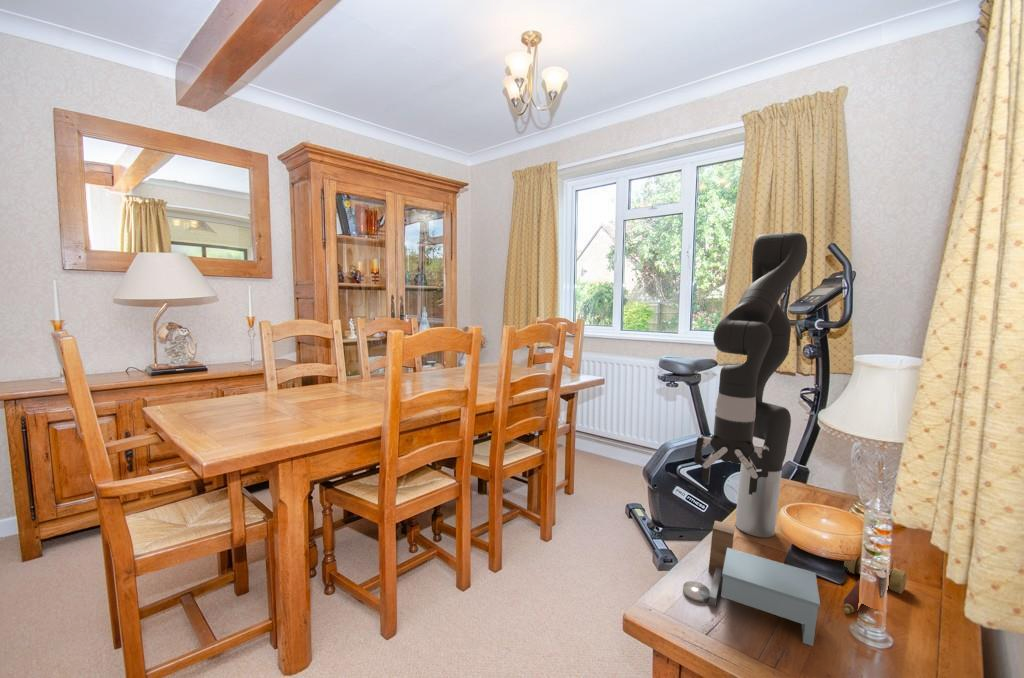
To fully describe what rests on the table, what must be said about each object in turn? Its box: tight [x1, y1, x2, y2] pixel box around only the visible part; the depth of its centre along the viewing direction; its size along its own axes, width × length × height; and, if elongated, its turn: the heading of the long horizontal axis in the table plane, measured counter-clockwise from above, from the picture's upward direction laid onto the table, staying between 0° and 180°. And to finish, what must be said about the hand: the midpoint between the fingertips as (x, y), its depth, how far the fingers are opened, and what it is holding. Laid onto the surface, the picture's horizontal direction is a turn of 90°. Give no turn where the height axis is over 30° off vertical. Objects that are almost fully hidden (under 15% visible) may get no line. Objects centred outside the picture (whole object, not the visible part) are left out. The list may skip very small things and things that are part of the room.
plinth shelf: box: [720, 548, 821, 647], centre depth 88 cm, size 10×15×8 cm
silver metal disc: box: [682, 580, 711, 604], centre depth 93 cm, size 5×5×1 cm
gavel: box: [843, 557, 908, 615], centre depth 95 cm, size 21×5×10 cm
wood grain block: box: [707, 520, 736, 609], centre depth 95 cm, size 16×4×10 cm, turn 150°
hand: (728, 488), depth 99 cm, fingers open, 8 cm apart
